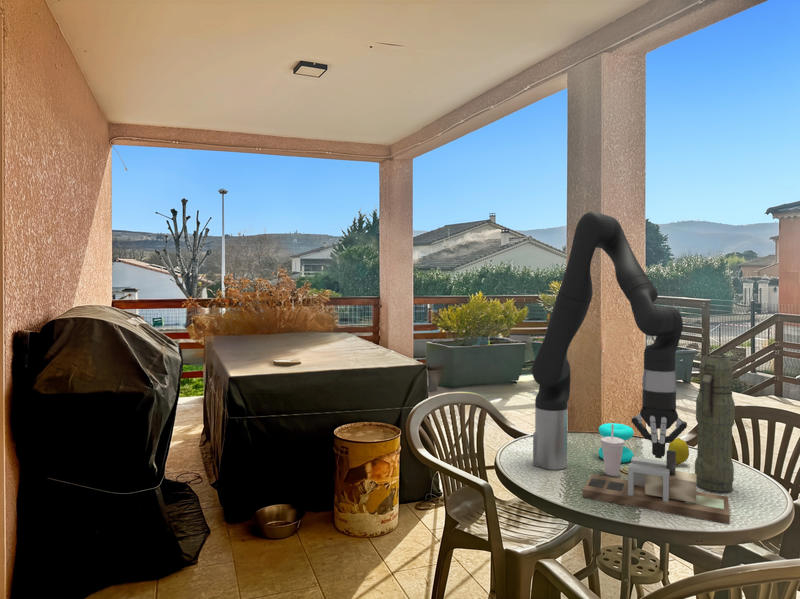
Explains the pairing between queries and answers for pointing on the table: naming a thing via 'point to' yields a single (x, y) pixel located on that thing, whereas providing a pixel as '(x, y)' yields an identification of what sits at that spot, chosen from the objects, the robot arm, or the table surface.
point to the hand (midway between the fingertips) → (658, 457)
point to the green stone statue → (715, 425)
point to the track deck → (657, 499)
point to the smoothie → (612, 453)
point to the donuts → (619, 432)
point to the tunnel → (650, 467)
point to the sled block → (673, 482)
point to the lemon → (679, 450)
